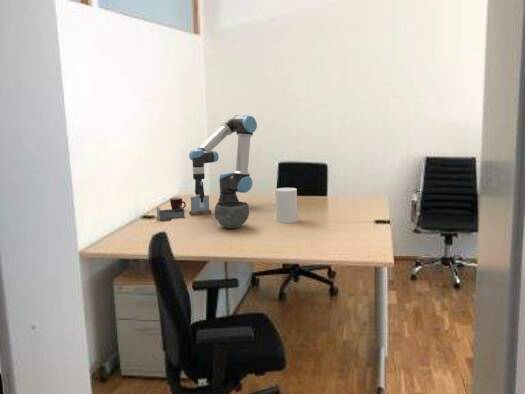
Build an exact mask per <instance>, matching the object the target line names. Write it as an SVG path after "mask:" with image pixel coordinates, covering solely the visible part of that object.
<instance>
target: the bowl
mask: <svg viewBox="0 0 525 394" xmlns="http://www.w3.org/2000/svg"><path fill="white" fill-rule="evenodd" d="M249 207H250V206H249V204H248V203H247V202H245V201H222V202H218V201H217V203H216V204H215V207H214V216H215V219H216V220H217V223H219V224H220V225H221V226H222V227H224V228H226V229H236V228H239V227H241V226H243V225H244V224H245V223H246V221H248V219H249V215H250V208H249Z"/></svg>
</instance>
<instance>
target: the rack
mask: <svg viewBox="0 0 525 394" xmlns="http://www.w3.org/2000/svg"><path fill="white" fill-rule="evenodd" d="M183 207H184V206H183V205H182V206H181V205H179V209H172V208H171V209H163V210H162V209H161V208H160V207H159V206H156V217H157V219H158V221H160V222H164V221H166V222H167V221H172V219H181V218H185V208H183Z"/></svg>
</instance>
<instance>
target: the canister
mask: <svg viewBox="0 0 525 394" xmlns="http://www.w3.org/2000/svg"><path fill="white" fill-rule="evenodd" d="M297 190H298V189H297V188H296V187H278V188H275V189H274V194H275V195H274V197H275V198H274V199H275V222H277V223H279V224H280V223H281V224H292V223H296V222H298V191H297Z"/></svg>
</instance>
